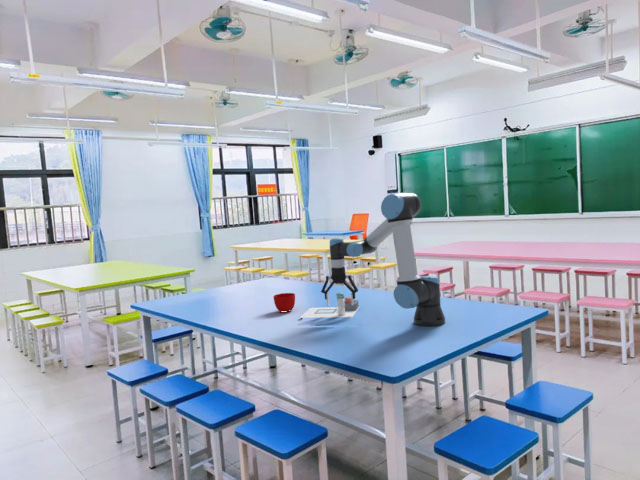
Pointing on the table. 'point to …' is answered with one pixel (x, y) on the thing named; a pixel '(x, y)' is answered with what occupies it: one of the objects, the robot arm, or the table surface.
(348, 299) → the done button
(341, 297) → the marker
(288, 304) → the ceramic cup
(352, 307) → the button housing
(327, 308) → the sheet
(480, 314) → the table surface
